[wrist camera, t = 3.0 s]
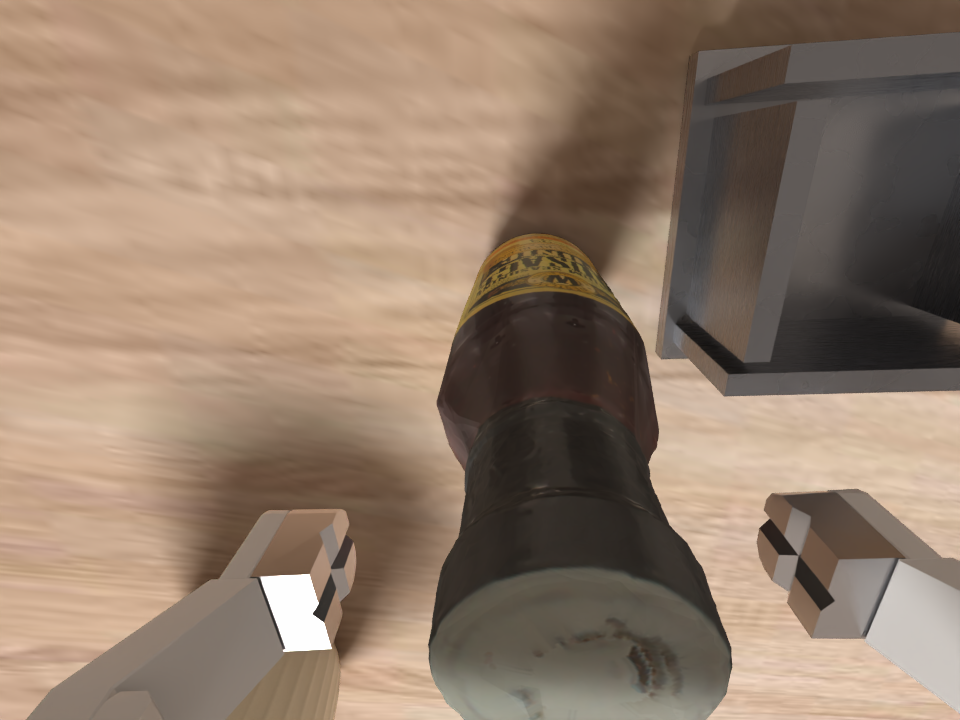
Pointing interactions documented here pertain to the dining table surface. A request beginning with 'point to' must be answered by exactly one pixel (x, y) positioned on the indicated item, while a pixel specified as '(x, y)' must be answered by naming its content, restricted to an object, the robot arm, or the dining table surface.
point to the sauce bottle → (563, 512)
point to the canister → (295, 688)
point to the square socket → (818, 218)
